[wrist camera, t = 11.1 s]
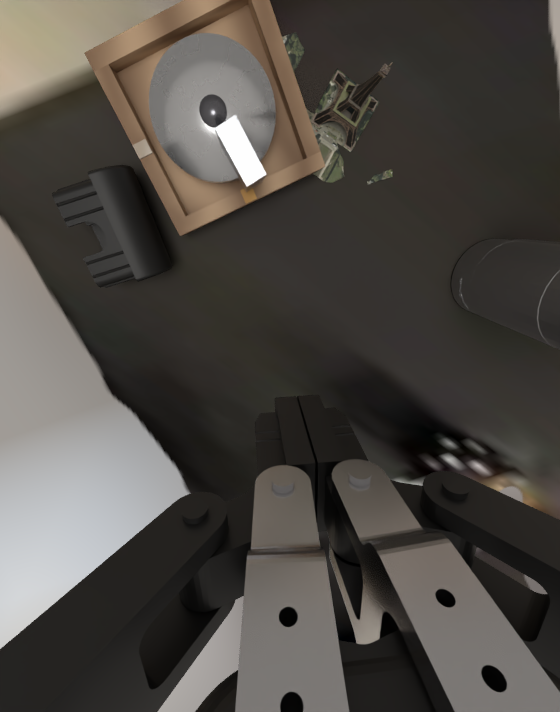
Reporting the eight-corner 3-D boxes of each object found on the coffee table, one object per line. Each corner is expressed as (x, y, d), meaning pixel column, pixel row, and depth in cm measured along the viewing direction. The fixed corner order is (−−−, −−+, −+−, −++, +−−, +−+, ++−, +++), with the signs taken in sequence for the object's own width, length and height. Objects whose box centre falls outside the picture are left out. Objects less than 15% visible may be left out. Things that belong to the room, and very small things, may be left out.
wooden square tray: (255, -9, 32) (256, -41, 28) (317, 171, 38) (326, 166, 34) (102, 71, 33) (82, 51, 29) (186, 234, 39) (179, 236, 35)
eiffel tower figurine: (272, 38, 34) (289, -62, 22) (373, 8, 34) (447, -110, 22) (307, 201, 40) (336, 195, 27) (394, 176, 40) (462, 159, 27)
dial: (128, 89, 32) (87, 44, 24) (233, 15, 31) (228, -60, 22) (207, 218, 36) (196, 218, 28) (301, 158, 35) (319, 140, 27)
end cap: (179, 263, 40) (166, 272, 34) (120, 282, 41) (98, 294, 34) (141, 170, 37) (120, 160, 30) (77, 190, 37) (43, 185, 31)
